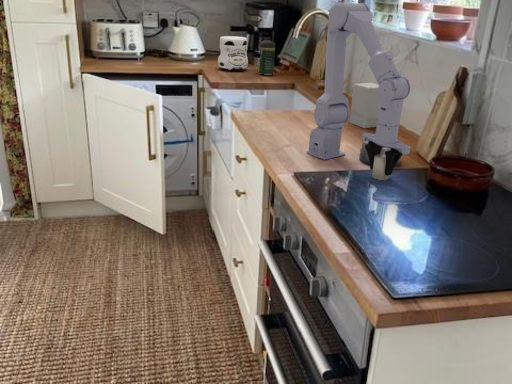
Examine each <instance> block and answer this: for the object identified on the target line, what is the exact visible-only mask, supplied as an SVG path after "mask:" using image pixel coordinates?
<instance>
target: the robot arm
mask: <svg viewBox="0 0 512 384" xmlns="http://www.w3.org/2000/svg"><path fill="white" fill-rule="evenodd" d="M372 20H373V13H372V11H371V9H370V6H369V5H368V4H367V3H365V2H360V3H359V2H358V3H357V2H356V3H355V2H336V3H335V4H334V5H333V6H332V7H331V8H330V9H329V11H328V23H327V24H328V25H327V32H326V52H325V53H326V54H325V73H324V74H325V75H324V93H322V95H320V97H318V98H317V100H316V103H315V104H316V105H315V108H314V111H313V119H314V122H315V124H316V126H317V127H316V128H313V129H312V130H311V132H310V134H309V141H308V150H306V153H307V154H308V155H311V156H314V157H316V158H319V159H321V160H326V161H327V160H329V159H333V158H336V157H341V156H345V155H346V152H343V151H342V150H341V141H342V135H343V133H342V132H343V127H345V124H346V123H347V122H349V120H350V114H351V109H350V107H349V99H348V98H347V96H346V95H345V94H344V84H345V83H344V82H345V80H344V79H345V65H346V48H347V39H348V38H349V37H350V35H351V34H353V33H355V34H357V36H358V38H359V40H360V41H361V43H362V45H363V47H364V48H365V50H366V52H367V54H368V55H369V61H368V65H369V67H370V69H371V70H370V71H371V72H372V74H373V76H374V78H375V80H376V82H377V83H376V84H378V85H379V87H377V95H378V97H379V103H378V104H379V106H380V107H379V113H378V120H377V127H375V129H376V130H375V133H369V132H363V133H362V134H361V141H363V142H365V141H368V144H366V145H365V149H366V151H367V153H368V157H369V162H370V165H369V169H370V170H371V171H373V164H374V158H375V155H377V154H380V153H381V150H382V147H386V148H389V149H391V150H389V151H385V156H386V166H385V175H386V176H388V177H389V176H391V175H392V174H393V171H394V169H395V168H396V167H395V165H396V163H397V162H398V160H399V159H400V158H401V159H402V156H403V155H404V156H405V155H408V154H410V151H411V146H410V145H407V144H405V143H403V142H402V141H400V140H398V135H399V130H400V122H401V116H402V110H403V105H404V99H406V98H407V97H408V96H409V95H410V92H411V85H410V82H409V81H410V80H409V79H408V78H407V77H406V76H403V75H402V74H401V73H400V72H399V71H398V69H397V66H396V65H395V61H393V56H392V54H390V53H389V52H388V51H384V50H383V47H382V46H381V42H380V40H379V38H378V35H377V32H376V29H375V28H374V25H373V22H372ZM340 150H341V151H340Z"/></svg>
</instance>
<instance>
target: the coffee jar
mask: <svg viewBox="0 0 512 384" xmlns="http://www.w3.org/2000/svg"><path fill="white" fill-rule="evenodd" d="M259 43H260V47H259V49H260V51H259V67H258V73H261V74H273V75H274V71H275V70H274V69H275V57H276V56H275V55H276V54H275V53H276V52H275V51H276V43H274V42H273V41H271V40H270V39H269V40H267V39H264V40H262V41H261V42H259Z"/></svg>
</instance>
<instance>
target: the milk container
mask: <svg viewBox="0 0 512 384" xmlns="http://www.w3.org/2000/svg"><path fill="white" fill-rule="evenodd" d="M247 51H248V38H247V37H245V36H235V35H234V36H233V35H224V36H222V35H221V36H220V37H219V53H218V58H217V64H218V65H217V66H218V67H219V68H220V69H221V68H222V69H221V70H224V69H231V70H240V71H244V70H246V69H247V68H248V65H249V59H248V53H247Z"/></svg>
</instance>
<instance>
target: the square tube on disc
mask: <svg viewBox="0 0 512 384" xmlns="http://www.w3.org/2000/svg"><path fill="white" fill-rule="evenodd" d="M366 144H368V141H363V142H362V146H361V148H360V152H359V156H358V157H359V161H360V162H361V163H363V164H364V165H367V166H370V162H369V157H368V153H367V151H366V149H365V145H366ZM389 150H391V149H389V148H386V147H382V150H381V153H380V154H383V155H385V151H389ZM401 160H402V157H401V158H400V159H399V160H398V162H397V163H396V165H395V167H394V168H396V167H398V166H400V165H401Z"/></svg>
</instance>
